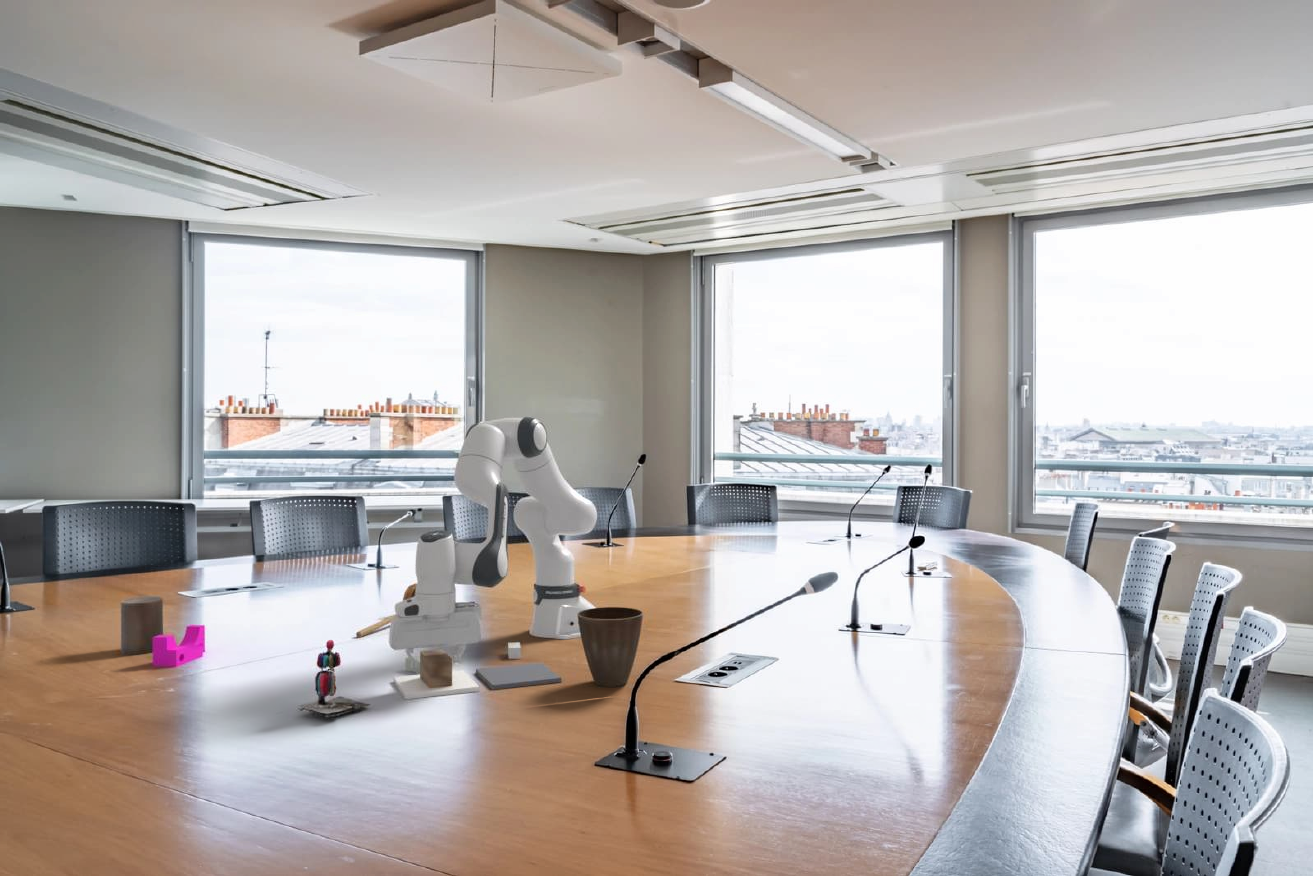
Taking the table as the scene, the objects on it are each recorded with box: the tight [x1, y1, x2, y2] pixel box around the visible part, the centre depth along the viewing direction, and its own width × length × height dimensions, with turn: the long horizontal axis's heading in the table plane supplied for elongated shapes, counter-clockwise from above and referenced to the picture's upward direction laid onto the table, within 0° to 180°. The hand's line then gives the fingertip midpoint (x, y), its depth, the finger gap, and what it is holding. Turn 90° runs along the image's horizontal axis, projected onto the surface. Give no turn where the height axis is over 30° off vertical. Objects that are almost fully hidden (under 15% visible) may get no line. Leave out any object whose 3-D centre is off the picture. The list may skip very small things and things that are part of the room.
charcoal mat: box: [475, 661, 562, 691], centre depth 223 cm, size 16×16×1 cm
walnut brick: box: [419, 649, 453, 688], centre depth 215 cm, size 5×10×6 cm, turn 25°
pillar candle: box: [120, 594, 164, 656], centre depth 248 cm, size 10×10×15 cm
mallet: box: [355, 583, 417, 638], centre depth 281 cm, size 12×38×10 cm, turn 158°
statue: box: [297, 639, 371, 718], centre depth 195 cm, size 11×9×15 cm
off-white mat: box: [393, 669, 480, 700], centre depth 215 cm, size 16×16×1 cm
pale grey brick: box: [507, 641, 522, 660], centre depth 244 cm, size 6×3×3 cm, turn 10°
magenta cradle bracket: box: [152, 624, 206, 668], centre depth 239 cm, size 15×6×8 cm, turn 172°
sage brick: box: [405, 655, 420, 675], centre depth 229 cm, size 6×3×3 cm, turn 50°
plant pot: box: [577, 606, 644, 688], centre depth 218 cm, size 15×15×16 cm
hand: (435, 665), depth 215 cm, fingers open, 8 cm apart
